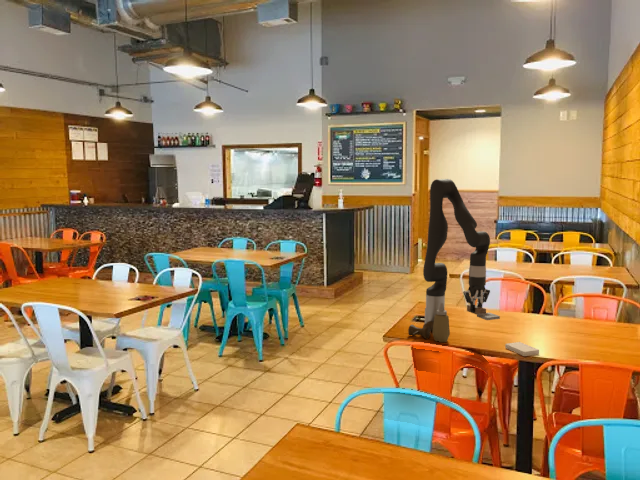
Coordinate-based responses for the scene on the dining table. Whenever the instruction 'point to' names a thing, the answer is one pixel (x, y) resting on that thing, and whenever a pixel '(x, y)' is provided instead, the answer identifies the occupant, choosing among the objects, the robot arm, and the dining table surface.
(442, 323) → the squeeze bottle
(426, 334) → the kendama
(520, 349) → the ceramic tile
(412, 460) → the dining table surface
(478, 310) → the dark piece
